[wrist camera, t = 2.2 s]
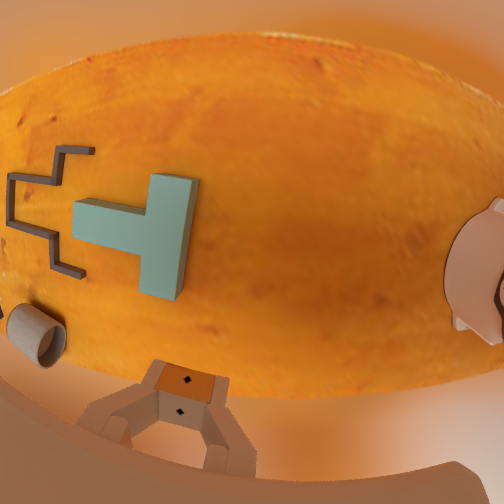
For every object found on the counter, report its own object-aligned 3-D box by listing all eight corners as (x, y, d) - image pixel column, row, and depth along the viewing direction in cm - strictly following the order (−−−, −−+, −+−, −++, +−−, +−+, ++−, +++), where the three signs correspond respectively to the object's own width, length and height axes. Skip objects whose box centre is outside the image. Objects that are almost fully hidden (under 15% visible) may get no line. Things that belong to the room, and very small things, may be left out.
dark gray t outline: (95, 147, 26) (89, 147, 25) (85, 276, 30) (80, 279, 29) (16, 144, 25) (10, 144, 24) (12, 249, 30) (7, 251, 29)
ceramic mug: (29, 292, 32) (-3, 314, 25) (65, 314, 32) (34, 341, 25) (35, 342, 35) (11, 366, 28) (70, 364, 35) (46, 392, 28)
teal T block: (199, 179, 26) (192, 180, 24) (182, 289, 30) (174, 301, 27) (92, 163, 26) (77, 164, 23) (85, 262, 30) (72, 270, 27)
